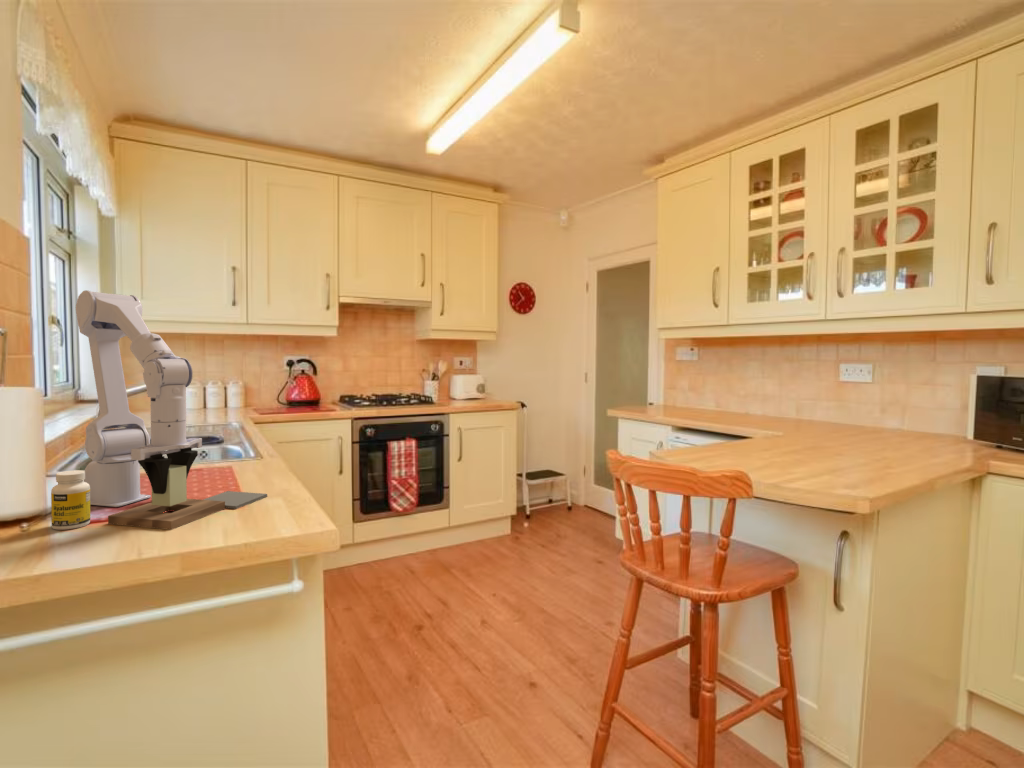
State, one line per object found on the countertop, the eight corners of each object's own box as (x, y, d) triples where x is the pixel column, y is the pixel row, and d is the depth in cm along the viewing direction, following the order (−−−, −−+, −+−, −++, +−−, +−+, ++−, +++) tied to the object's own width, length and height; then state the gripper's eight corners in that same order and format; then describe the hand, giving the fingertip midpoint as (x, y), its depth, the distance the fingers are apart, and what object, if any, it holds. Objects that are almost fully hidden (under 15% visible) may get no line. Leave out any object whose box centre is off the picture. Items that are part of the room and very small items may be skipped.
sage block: (151, 504, 99) (151, 468, 99) (169, 499, 103) (168, 464, 103) (169, 506, 99) (169, 469, 98) (186, 500, 103) (186, 465, 102)
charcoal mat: (193, 505, 108) (193, 502, 108) (227, 493, 118) (227, 491, 118) (236, 509, 106) (236, 506, 106) (267, 496, 116) (267, 493, 116)
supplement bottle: (47, 532, 91) (45, 476, 90) (57, 523, 95) (55, 470, 95) (86, 528, 93) (85, 474, 93) (94, 519, 98) (93, 468, 97)
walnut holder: (108, 523, 96) (108, 515, 96) (168, 504, 109) (168, 497, 109) (171, 529, 93) (171, 521, 93) (225, 508, 106) (225, 501, 106)
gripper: (154, 426, 92) (155, 501, 93) (214, 417, 107) (215, 482, 107) (120, 424, 94) (121, 498, 94) (184, 416, 108) (185, 480, 108)
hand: (169, 490), depth 101 cm, fingers closed on sage block, 4 cm apart
